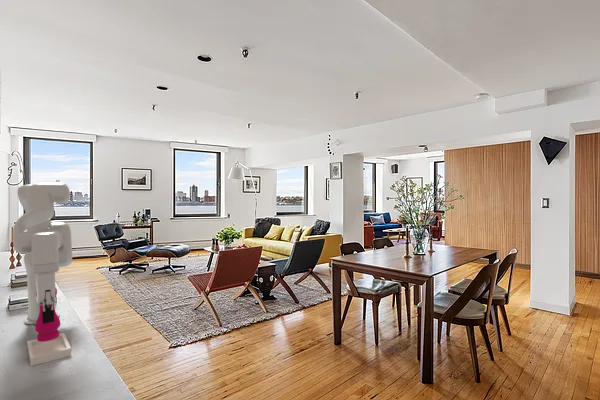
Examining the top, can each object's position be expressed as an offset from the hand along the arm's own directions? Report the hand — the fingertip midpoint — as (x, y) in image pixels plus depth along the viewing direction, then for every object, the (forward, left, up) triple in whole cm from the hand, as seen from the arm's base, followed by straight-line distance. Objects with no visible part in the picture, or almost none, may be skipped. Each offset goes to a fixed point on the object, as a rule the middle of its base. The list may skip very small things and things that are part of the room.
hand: (47, 319), depth 122 cm
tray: (0, 0, -11) cm, 11 cm away
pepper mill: (0, 0, -7) cm, 7 cm away
